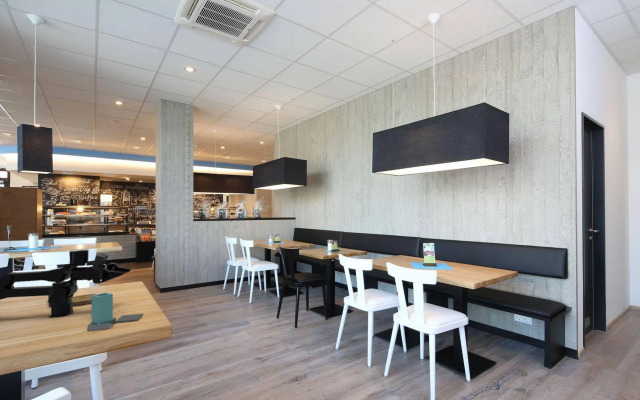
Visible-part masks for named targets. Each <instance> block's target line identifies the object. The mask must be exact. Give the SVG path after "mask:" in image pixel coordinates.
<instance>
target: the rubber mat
mask: <svg viewBox="0 0 640 400" xmlns="http://www.w3.org/2000/svg"><path fill="white" fill-rule="evenodd" d="M142 315H143V316H144V313H135V314H125V315H121V316H120V317H118V318H117V319H116V321H115V324H123V323H132V322H138V321H139V320H140V319H141V318H142V317H143V316H142Z"/></svg>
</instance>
